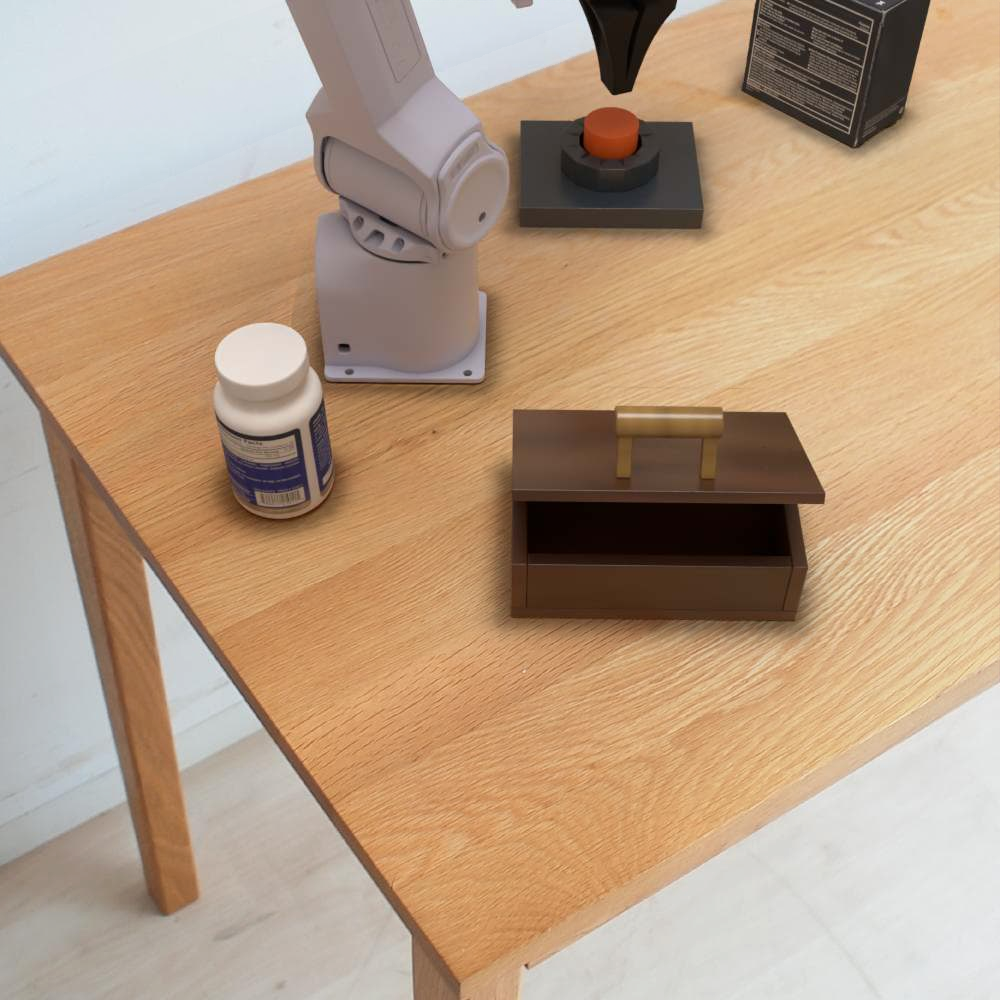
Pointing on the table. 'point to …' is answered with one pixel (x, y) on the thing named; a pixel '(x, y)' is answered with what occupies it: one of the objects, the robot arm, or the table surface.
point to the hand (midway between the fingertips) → (616, 85)
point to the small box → (835, 61)
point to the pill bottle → (272, 421)
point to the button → (611, 133)
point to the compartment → (656, 560)
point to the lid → (660, 456)
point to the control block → (609, 179)
